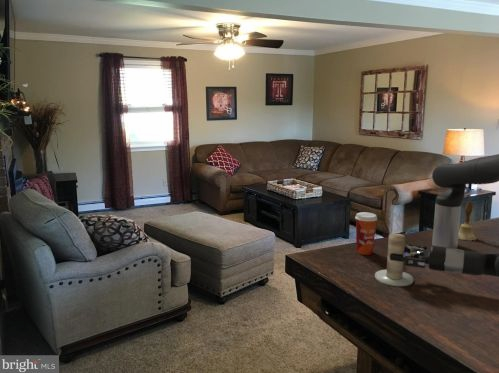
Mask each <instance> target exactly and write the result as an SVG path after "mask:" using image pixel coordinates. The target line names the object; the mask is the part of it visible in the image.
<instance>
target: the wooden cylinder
mask: <svg viewBox="0 0 499 373" xmlns="http://www.w3.org/2000/svg"><path fill="white" fill-rule="evenodd" d="M405 244H406V236H405V235H404V234H402V233H389V234H388V242H387V259H386V260H387V261H386V270H387V273H386V276H387V277H388V278H389V279H393V280H400V279H402V275H403V272H404V271H403V270H404V263H403V262H400V261H393V260H390V254H391V253H396V254H403V255H404V247H405V246H406V245H405Z"/></svg>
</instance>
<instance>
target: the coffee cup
mask: <svg viewBox="0 0 499 373" xmlns="http://www.w3.org/2000/svg"><path fill="white" fill-rule="evenodd" d="M377 216H378V215H377V214H375V213H372V212H368V211H367V212H366V211H365V212H364V211H363V212H361V211H360V212H358V213H357V212H356V215H355V217H354V218H355V231H356V232H355V235H356V236H355V240H356V241H355V242H356V244H355V245H356V253H357V254H359V255H363V256H365V255H366V256H368V255H372V254H373V251H374V243H375V237H376V236H375V235H376V226H377V221H378V217H377Z"/></svg>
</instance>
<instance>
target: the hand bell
mask: <svg viewBox="0 0 499 373" xmlns="http://www.w3.org/2000/svg"><path fill="white" fill-rule="evenodd" d="M472 212H473V203H472V201H471V200H468V201H467V203H466V205H465V209H464V213H465V218H464V219H465V220H464V223H462V224H461V225H459V235H458V240H462V241H469V242H470V241H471V242H473V241H476V240H477V237H476V236H475V235H474V230H473V225H471V224H470V220H471V214H472ZM472 240H473V241H472Z"/></svg>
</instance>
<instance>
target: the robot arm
mask: <svg viewBox="0 0 499 373" xmlns="http://www.w3.org/2000/svg"><path fill="white" fill-rule="evenodd" d="M431 175H432V176H431V178H432V181H433V183H434V185H435V186H437V187H439V188H443V189H445V188H447V189H446V191H444V192H442V193H441V194H439V195H437V196H436V197H435V207H434V218H433V230H432V238H431V240H432V242H431V246H430V249H429V250H428V246H426V245H418V244H412V243H409V244H406V245H405V247H404V253H407V254H406V255H403V254H396V253H391V254H390V260H393V261H400V262H403V266H405V267H413V268H420V269H421V268H422V269H425V267H426V265H428V269H429V270H431V271H438V272H444V273H451V274H463V275H471V276H482V275H485V276H492V277H498V278H499V253H485V252H484V253H483V252H477V251H472V250H471V251H470V250H463V249H459V248H458V244H459V243H458V242H459V239H458V235H459V230H460V226H461V225H460V224H461V223H460V222H461V215H462V214H461V212H462V205H463V204H462V203H463V200H464V198H465V193H466V192H465V191H466V186H467V185H488V184H489V185H490V184H495V183H498V182H499V153H497V154H492V155H485V156H481V157H476V158H472V159H469V160H465V161H462V162H457V163H441V164H438V165H437V166H436V167H435V168H434V169H433V171H432V173H431Z"/></svg>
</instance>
